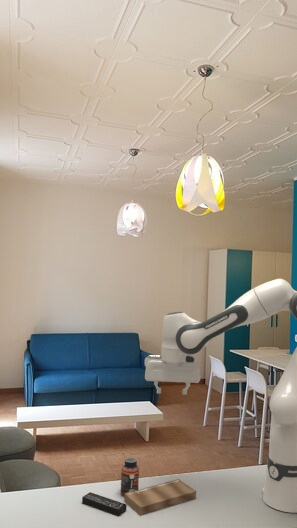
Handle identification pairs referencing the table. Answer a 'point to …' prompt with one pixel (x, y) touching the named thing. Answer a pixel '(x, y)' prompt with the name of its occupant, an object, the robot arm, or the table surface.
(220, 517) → the table surface
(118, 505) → the multiport hub
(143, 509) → the walnut board
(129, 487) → the supplement bottle
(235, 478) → the table surface
